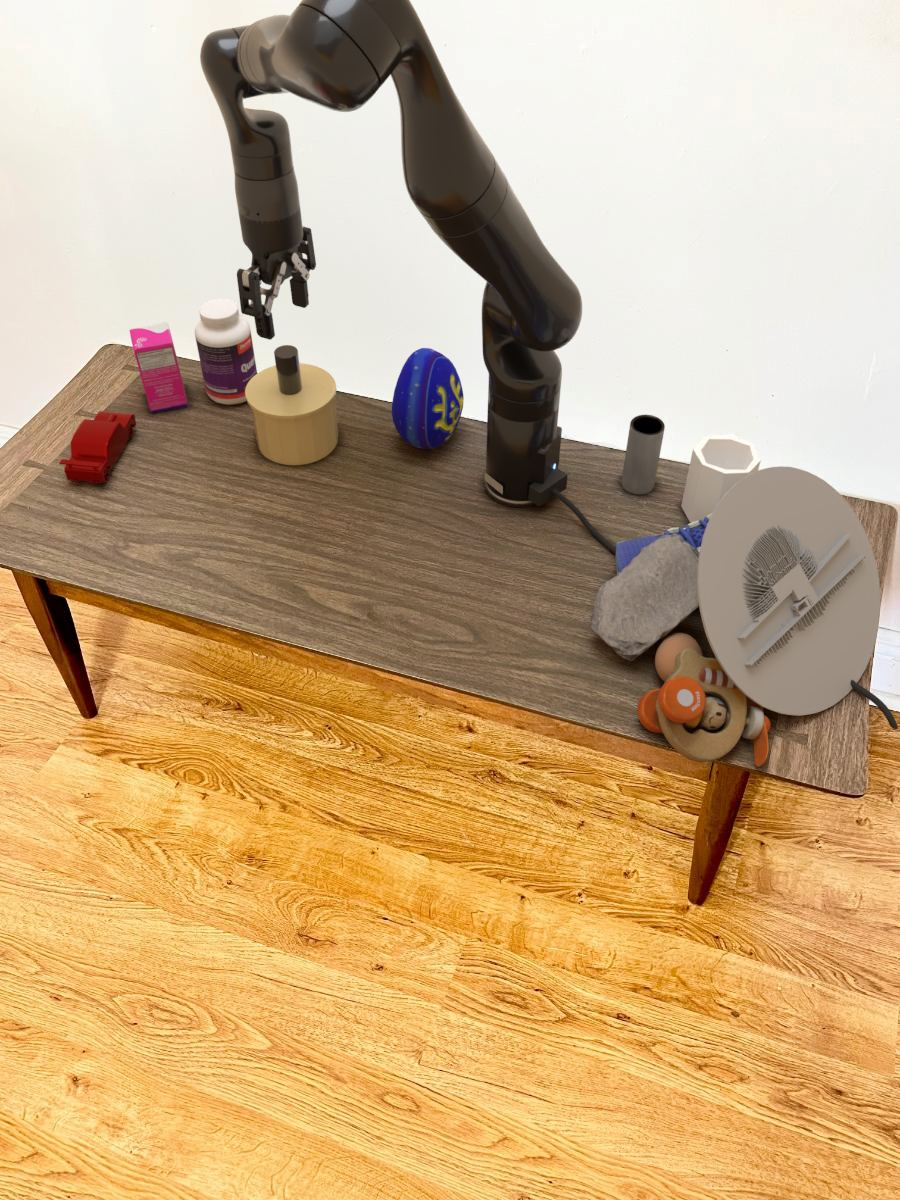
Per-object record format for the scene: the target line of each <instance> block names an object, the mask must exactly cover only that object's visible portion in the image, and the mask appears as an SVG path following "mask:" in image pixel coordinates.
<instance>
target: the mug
mask: <svg viewBox="0 0 900 1200" xmlns="http://www.w3.org/2000/svg"><path fill="white" fill-rule="evenodd" d="M761 461H762V460H761V458H760V455H759V453H758V451H757V449H756V447H755V445H754V443H753V442H751V441H748V440H745V439H742V438H740V437H739V436H737V435H736V434H732V433H725V434H715V435H714V434H713V435H705V436H704V437H703V438H702V439H701V440H699V442H698V443H697V444H696V445H695V446H694V447H693V448H692V451H691V457H690V462H689V467H688V471H687V476H686V481H685V486H684V491H683V496H682V501H681V505H680V507H681V509H682V511H683V513H684V514H685V516H686V518H687V520H688V522H689V523H692V522H694V521H699V520H704V518H705V517H706V516H708V515H709V514H711V513H713V511H714V509H715V508H716V506H717V504H718V503H719V501H720V500H721V498H722V497H723V496H724V494H725V493H726V492H727V491H728V490H729V489H730V488H731V487H732V486H733V485H735V484H736V483H737V482H738V481H739V480H741V479H742V478H744V477H745V476H747V475H749V474H751V473H753V472H755V471H758V470H760V464H761Z"/></svg>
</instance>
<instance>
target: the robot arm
mask: <svg viewBox="0 0 900 1200" xmlns="http://www.w3.org/2000/svg"><path fill="white" fill-rule="evenodd" d="M199 61H200V62H199V63H200V67H201V70H202V73H203V76H204V79H205V81H206V82H207V85H208V87H209V89H210V91H211V93H212V94H213V97H214V100H215V102H216V104H217V106H218V109H219V111H220V114H221V117H222V119H223V122H224V125H225V128H226V129H225V130H226V132H227V136H228V140H229V145H230V152H231V159H232V160H231V161H232V167H233V172H234V192H235V199H236V205H237V212H238V217H239V218H238V219H239V225H240V231H241V238H242V242H243V244H244V245H245V246H246V247H247V248H248V251H250V253H251V266H250V267H248V268H246V269H243V268H238V270H237V271H236V280H237V287H238V296H239V305H240V312H241V314H242V315H246V316H250V317H254V324H255V325H254V326H255V331H256V334H257V336H258V337H259V338H263V339H266V340H270V341H271V340H272V339H273V338H275V336H276V332H275V327H274V325H275V324H274V319H273V318H274V317H273V313H272V309H273V304H274V300H275V299H277V298H278V297H279V293H280V289H281V285H282V284H284V282H285V280H287V279H289V287H290V295H291V302H292V304H293V305H294V306H296V307H299V308H303V309H306V308H307V307H308V306H309V304H310V301H309V300H310V299H309V287H308V280H309V279H310V271H314V270H315V269H316V267H317V262H316V260H317V259H316V254H315V253H316V252H315V247H314V240H313V234H312V229H311V228H310V227H308V226H307V227H306V226H304V225H303V220H302V212H301V202H300V195H299V193H300V192H299V186H298V185H299V184H298V180H297V176H296V171H295V167H294V158H293V150H292V149H293V148H292V141H291V139H292V138H291V132H290V127H289V123H288V121H287V119H286V118H285V117H284V115H282V114H281V113H279V112H276V111H274V110H268V109H254V108H247V107H245V105H244V100H245V99H252V98H256V97H261V96H266V95H281V94H282V95H283V94H289V93H290V94H292V95H294V96H296V97H299V98H301V99H302V100H305V101H307V102H309V103H312V104H315V105H317V106H320V107H322V108H325V109H328V110H330V111H333V112H337V113H339V112H340V113H352V112H355V111H357V110H359V109H361V108H363V107H364V106H365V105H366V104H367V103H368V102H369V101H370V100H372V98H373V97H374V96H375V95H376V94H377V91H379V89H380V88H381V87H382V86H383V85H384V83H385V82H386V81H387V80H388V79H389V77H390V78H391V80H392V82H393V85H394V89H395V92H396V96H397V100H398V107H399V117H400V153H401V167H402V172H403V173H402V174H403V180H404V185H405V189H406V192H407V194H408V197H409V198H410V200H411V202H412V204H413V205H414V206H415V207H416V210H417V211H418V212H419V213H420V214H421V216H422V217H423V218H424V220H425V221H426V224H428V226H429V227H430V229H431V230H432V231H433V233H434V234H435V235H436V237H438V238H439V239H440V240H441V242H442V243H443V244H444V245H445V246H446V247H447V248H449V250H451V251H452V253H454V255H456V256H457V258H459V259H460V260H461V261H462V262H463V263H465V264H466V265H467V266H468V267H469V268H470V269H471V270H472V271H473V272H475V273H476V274H477V275H478V276H479V277H481V278H482V279H483V280H484V281H486V283H485V286H484V288H483V292H482V293H483V294H482V300H481V341H482V359H483V363H484V365H485V368H486V370H487V374H488V387H487V390H488V391H487V415H486V417H487V418H486V419H487V420H486V446H485V447H486V448H485V449H486V450H485V451H486V452H485V472H484V489H485V492H486V493H487V495H488V496H489V497H490V498H491V499H492V500H494V501H495V502H496V503H498V504H501V505H504V506H507V507H511V508H512V507H513V508H529V507H537V508H543V506H544V504H546V503H547V502H548V501H550V500H552V499H553V498H554V497H556V498H557V499H558V500H559V501H561V502H562V503H563V504H564V505H565V506H566V507H567V508H568V509H569V510H570V511H572V512H573V514H574V515H575V516H576V517H577V519H578V520H579V521H580V522H581V524H583V526H584V527H585V528H586V529H587V530H588V532H589V533H590V534H592V535H593V536H594V538H595V539H596V540H597V541H598V542H600V543H601V544H602V545H603V546H604V547H605V548H606V549H608V550H609V551H610V552H611V553H613V554H614V555H615V556H616V546H614V545H613V544H612V543H611V542H610V541H609V540H608V539H606V538H605V537H604V536H603V535H602V534H601V533H600V532H599V531H598V530H597V529H596V528H595V527H594V526H593V525H592V524H591V523H590V522H589V520H588V519H587V517H586V516H585V515H584V514H583V513H582V511H581V510H580V509H579V508H578V507H577V506H576V505H575V504H574V503H573V502H571V500H570V499H568V498H567V497H566V496H565V495H564V494H563V493H562V492H563V491H565V490H566V489H567V486H568V476H569V474H568V473H567V472H565V471H563V470H561V468H559V464H560V454H561V443H562V433H563V432H562V431H563V428H562V426H559V425H558V423H559V411H560V402H561V401H560V400H561V387H562V378H563V366H562V361H561V360H560V358H559V355H558V354H557V353H556V351H557V350H559V349H562V348H563V347H564V346H566V345H568V343H570V342H571V341H572V340H573V338H574V337H576V334H577V332H578V330H579V328H580V325H581V323H582V317H583V301H582V295H581V292H580V289H579V288H578V285H577V284H576V283H575V281H574V280H573V279H572V278H571V277H570V276H569V275H568V273H567V271H565V270H564V269H563V267H562V266H561V264H560V263H559V262H558V261H557V260H556V258H555V257H554V256H553V255H552V254H551V252H550V251H549V250H548V248H547V247H546V245H545V244H544V242H543V241H542V239H541V237H540V236H539V235H540V234H538V232H537V230H536V228H535V226H534V224H533V223H532V221H531V219H530V217H529V215H528V214H527V212H526V210H525V208H524V207H523V205H522V203H521V202H520V199H519V198H518V196H517V194H516V193H515V192H514V189H513V188H512V186H511V184H510V181H509V180H508V178H507V176H506V174H505V172H504V171H503V169H502V167H501V166H500V164H499V162H498V160H497V159H496V158H495V156H494V154H493V153H492V151H491V149H490V147H489V146H488V144H487V143H486V141H485V140H484V138H483V137H482V135H481V134H480V132H479V130H478V129H477V127H476V126H475V124H474V122H473V121H472V120H471V118H470V116H469V114H468V113H467V111H466V109H465V107H464V106H463V105H462V103H461V101H460V99H459V98H458V96H457V94H456V92H455V90H454V88H453V86H452V85H451V83H450V81H449V78H448V76H447V74H446V72H445V69H444V68H443V66H442V63H441V61H440V59H439V57H438V55H437V52H436V50H435V48H434V46H433V44H432V42H431V40H430V37H429V36H428V33H427V31H426V29H425V27H424V25H423V23H422V21H421V19H420V16H419V15H418V13H417V11H416V9H415V7H414V5H413V4H412V2H411V0H301V1H300V2H299V4H298V5H297V6H296V7H295V9H294V10H293V11H292V13H291V14H289V15H288V14H276V15H271V16H267V17H265V18H262V19H259V20H257V21H254V22H253V23H251V24H248V25H247V24H246V25H242V26H235V27H231V28H224V29H218V30H215V31H212V32H210V33H208V34H207V35H206V36H205V38H204V39H203V41H202V43H201V47H200V54H199ZM303 254H304V255H305V256H306V258H305V257H304V255H303ZM290 277H291V278H290ZM262 283H264V284H265V285H268V286H270V288H268V289H267V288H263V287H262V286H261V285H262ZM262 295H263V296H265V298H264V302H263V301H262ZM850 683H851V686H852V689H853V690H855V691H856V692H857V693H859V694H861V695H862V696H864V697H865V698H866V699H868V700H869V701H870V702H872V703H873V704H874V705H875V706H876V707H877V708H878V709H879V710H880V712H882V714H883V715H884V717H885V719H886V720H887V722H888V725H889V727H891V729H893V730H898V729H899V725H898V723H897V721H896V718H895V717H894V715H893V713H892V711H891V710H890V708H888V706H887V704H885V703H884V702H883V701H882V700H881V699H880V698H878V696H876V695H875V694H874V693H872V692H871V691H869V690H868V689H866V687H864V686H863V685H860V684H859V683H858V682H857V683H856V682H855V681H854V680H851V682H850Z"/></svg>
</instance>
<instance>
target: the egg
mask: <svg viewBox="0 0 900 1200" xmlns="http://www.w3.org/2000/svg"><path fill="white" fill-rule="evenodd" d="M689 648H691V649H693V650H695V651H696V652H698V653H699V654H700V655H701V656H703V657H704V655H703V654H704V653H703V651H702V649H701V646H700V645H699V644H698V642H697V640H696V639H695V638H693V637H692V636H691V635H690V634H688V633H685V632H675V633H672V634H669V635H668V636H667V637H665V638H664V639H663V640H662V641H661V643H660V644H659V645H658V647H657V649H656V653H655V657H654V658H655V659H654V667H655V671H656V672H657V675H658V677H659V678H660V679H661V680H662V681H663V682H664V683H665V682H666V680H667V679H668V678H669V677H670V675H671V674H672V673H673V672H674V670H675V658H676V656H677V654H678V653H680V652H681V651H683V650H685V649H689Z"/></svg>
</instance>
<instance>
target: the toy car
mask: <svg viewBox="0 0 900 1200" xmlns="http://www.w3.org/2000/svg"><path fill="white" fill-rule="evenodd" d="M136 426H137V420H136V417H135V414H134V413H128V412H127V413H126V412H125V413H124V412H115V411H103V410H101V411H100V410H99V411H98V412H97V413H96V415H95V417H94V418H93V419H87V418H84V419H83V420H82V421H81V423H80V424H79V425H78V427H77V429H76V430H75V432H74V433H73V435H72V438H71V440H70V457H69V458H68V459H67V458H66V459H65V458H62V459H61V460H59V462H58V464H59V465H65V466H64V468H63V471H64V473H65V476H66V477H65V478H66V479H67V481H69V480H70V481H72V483H77V481H78V482H89V483H91V485H96V484H97V483H99V484H100V483H101V484H103V483H107V482H108V481H109V478H110V470H112V469H113V467H114V465H115V463H116V461H117V460H118V458H119V456H120V454H121V453H122V451H123V450H124V448H125V446H126V444H127V442H128V441H129V440H132V438H133V436H134V428H136Z"/></svg>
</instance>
